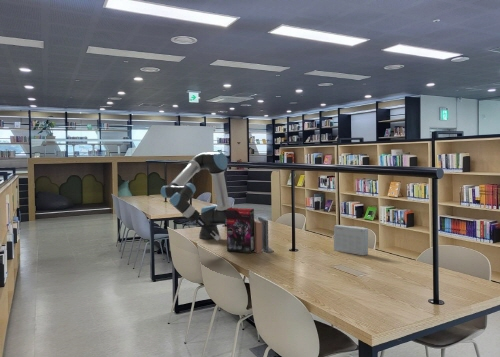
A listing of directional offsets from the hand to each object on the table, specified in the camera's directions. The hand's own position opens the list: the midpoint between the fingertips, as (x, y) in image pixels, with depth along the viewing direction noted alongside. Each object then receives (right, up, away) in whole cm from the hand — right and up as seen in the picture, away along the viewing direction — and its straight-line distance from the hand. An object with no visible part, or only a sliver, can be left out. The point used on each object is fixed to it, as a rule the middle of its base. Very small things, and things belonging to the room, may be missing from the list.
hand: (218, 238), depth 246 cm
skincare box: (+82, -8, -1) cm, 82 cm away
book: (+24, -8, +7) cm, 26 cm away
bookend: (+30, -8, +9) cm, 32 cm away
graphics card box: (+14, -9, +5) cm, 17 cm away
